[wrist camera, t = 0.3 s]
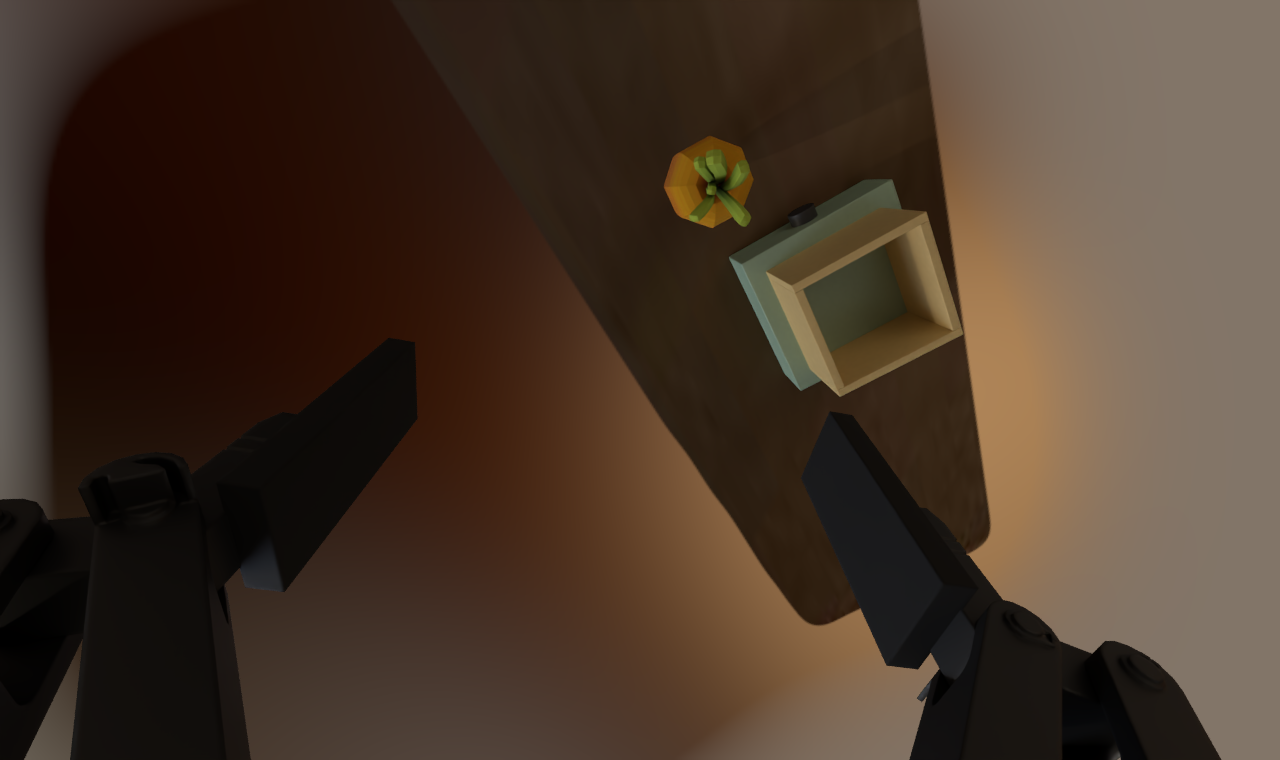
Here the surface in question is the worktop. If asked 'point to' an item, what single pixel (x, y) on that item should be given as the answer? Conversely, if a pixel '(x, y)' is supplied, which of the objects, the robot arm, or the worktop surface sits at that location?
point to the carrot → (710, 183)
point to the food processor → (849, 288)
